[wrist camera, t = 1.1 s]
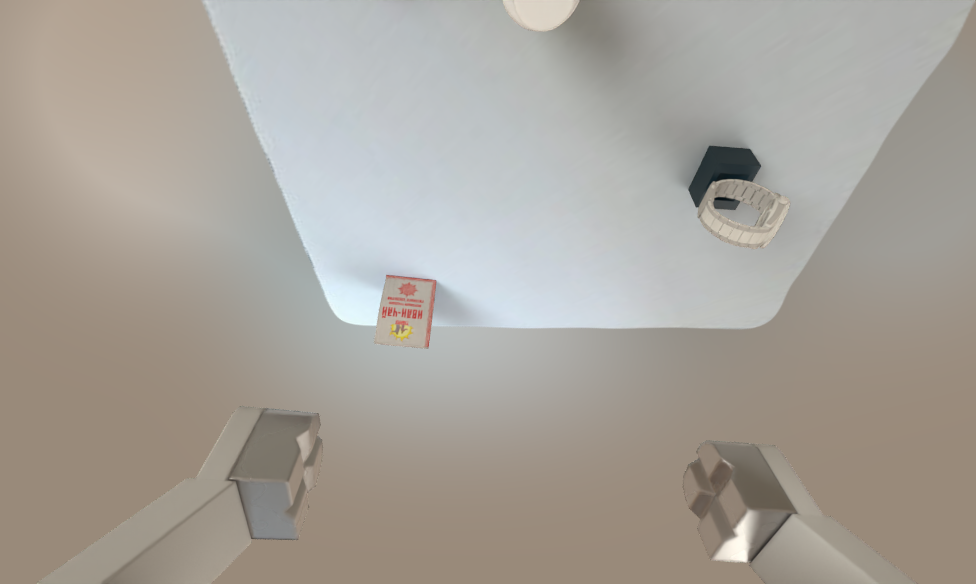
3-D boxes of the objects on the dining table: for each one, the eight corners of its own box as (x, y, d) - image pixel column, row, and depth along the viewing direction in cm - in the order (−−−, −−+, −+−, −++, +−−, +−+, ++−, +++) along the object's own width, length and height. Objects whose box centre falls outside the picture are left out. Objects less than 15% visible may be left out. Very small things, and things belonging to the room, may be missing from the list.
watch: (742, 193, 53) (781, 262, 46) (673, 188, 52) (701, 257, 45) (768, 149, 49) (816, 217, 41) (693, 143, 48) (727, 211, 41)
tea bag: (434, 297, 67) (427, 356, 61) (387, 292, 67) (374, 351, 60) (436, 280, 64) (429, 339, 58) (386, 275, 64) (373, 334, 57)
